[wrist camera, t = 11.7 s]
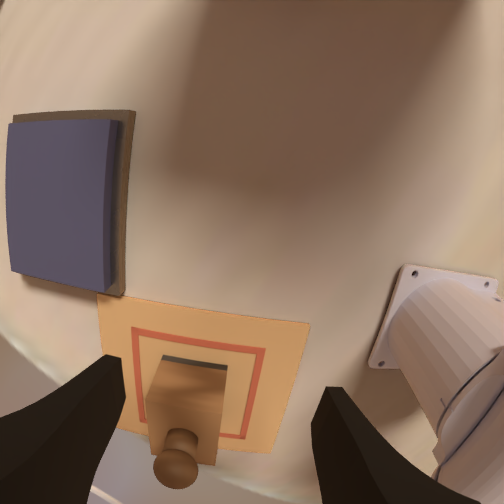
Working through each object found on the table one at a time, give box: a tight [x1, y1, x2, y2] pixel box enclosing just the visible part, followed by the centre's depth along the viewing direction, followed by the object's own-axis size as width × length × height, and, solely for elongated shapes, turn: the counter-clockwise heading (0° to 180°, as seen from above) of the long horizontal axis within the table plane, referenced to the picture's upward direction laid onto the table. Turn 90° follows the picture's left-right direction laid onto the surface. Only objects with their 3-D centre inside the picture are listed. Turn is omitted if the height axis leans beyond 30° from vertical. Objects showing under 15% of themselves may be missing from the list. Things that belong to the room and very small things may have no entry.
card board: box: [97, 292, 310, 453], centre depth 22 cm, size 14×14×1 cm
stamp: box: [145, 355, 228, 489], centre depth 17 cm, size 4×6×8 cm
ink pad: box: [6, 110, 136, 296], centre depth 16 cm, size 9×11×2 cm
